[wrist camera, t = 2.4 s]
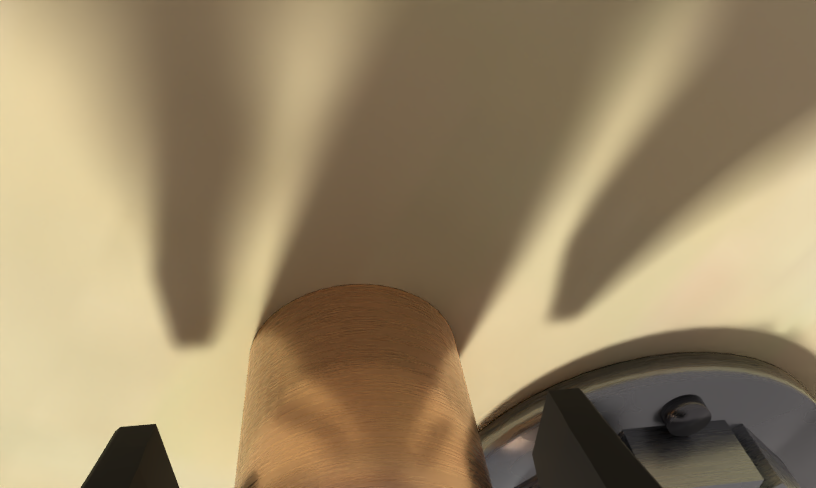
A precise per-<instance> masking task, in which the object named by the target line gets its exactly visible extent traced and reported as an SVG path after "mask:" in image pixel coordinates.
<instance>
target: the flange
mask: <svg viewBox="0 0 816 488" xmlns="http://www.w3.org/2000/svg"><path fill="white" fill-rule="evenodd" d="M571 388H579V389H580V390H582V391H583V392H584V394H585V395H586V396H587V398H588V399H589V400H590V401H591V403H592V404H593V405H594V406H595V408H596V409H597V410H598V411H599V413H600V414H601V415H602V416H603V418H604V419H605V420H606V421H607V423H608V424H609V425H610V426H611V428H612V429H613V430H614V431H615V433H616V434H617V435H618V436H619V437H620V439H621V440H622V441H623V442H624V443H625V445H626V446H627V447H628V448H629V449H630V451H631V452H632V453H633V454H634V455H635V457H636V458H637V459H638V460H639V461H640V462H641V464H642V465H643V466H644V467H645V468H646V469H647V470H648V472H649V473H650V474H651V475H652V476H653V477H654V478H655V479H656V481H657V482H658V483H659V484H660V485H661V486H662V487H663V488H816V402H815V401H814V400H813V398H812V397H811V396H810V395H809V393H808V392H807V391H806V390H805V389H804V387H803V386H802V385H801V384H800V383H799V382H798V381H796V380H795V379H794V378H793V377H792V376H791V375H790V374H788V373H786V372H785V371H783V370H781V369H779V368H777V367H776V366H774V365H771V364H768V363H765V362H762V361H760V360H757V359H754V358H748V357H743V356H738V355H733V354H722V353H708V352H701V353H676V354H668V355H660V356H652V357H646V358H641V359H636V360H632V361H627V362H622V363H617V364H614V365H611V366H607V367H604V368H601V369H597V370H594V371H591V372H587V373H585V374H582V375H580V376H577V377H575V378H572V379H569V380H567V381H564V382H562V383H559V384H557V385H555V386H553V387H551V388H549V389H547V390H545V391H542V392H540V393H538V394H536V395H534V396H532V397H530V398H529V399H527V400H525V401H524V402H522V403H520V404H519V405H517V406H515V407H514V408H512V409H510V410H508V411H507V412H505V413H504V414H503V415H501V416H500V417H499V418H497V419H496V420H494V421H493V422H492V423H490V424H489V425H488V426H486V427H485V428H484V429H483V430H482V431H480V432H479V437H480V441H481V444H482V448H483V452H484V456H485V460H486V464H487V468H488V472H489V476H490V480H491V483H492V487H493V488H540V486H539V482H538V478H537V474H536V469H535V465H534V461H533V456H532V452H533V448H534V444H535V440H536V436H537V432H538V428H539V424H540V420H541V416H542V412H543V408H544V404H545V400H546V396H547V392H548V390H559V389H571Z"/></svg>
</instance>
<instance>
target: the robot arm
mask: <svg viewBox="0 0 816 488" xmlns="http://www.w3.org/2000/svg"><path fill="white" fill-rule="evenodd" d="M532 456H533V461H534V465H535V469H536V474H537V478H538V482H539V486H540V488H663V487H662V486H661V485H660V484H659V483H658V482H657V481H656V479H655V478H654V477H653V476H652V475H651V474H650V473H649V472H648V470H647V469H646V468H645V467H644V466H643V465H642V464H641V462H640V461H639V460H638V459H637V458H636V457H635V455H634V454H633V453H632V452H631V451H630V449H629V448H628V447H627V446H626V445H625V443H624V442H623V441H622V440H621V439H620V437H619V436H618V435H617V434H616V433H615V431H614V430H613V429H612V428H611V426H610V425H609V424H608V423H607V421H606V420H605V419H604V418H603V416H602V415H601V414H600V413H599V411H598V410H597V409H596V408H595V406H594V405H593V404H592V403H591V401H590V400H589V399H588V398H587V396H586V395H585V394H584V392H583V391H582V390H580V389H579V388H571V389H559V390H548V392H547V396H546V400H545V404H544V408H543V412H542V416H541V420H540V424H539V428H538V432H537V436H536V440H535V444H534V448H533V452H532ZM81 488H179V486H178V483H177V480H176V478H175V475H174V472H173V469H172V467H171V464H170V461H169V458H168V456H167V453H166V450H165V448H164V445H163V442H162V439H161V437H160V434H159V431H158V428H157V426H156V424H150V425H139V426H127V427H120V428H119V429H118V430H116V431H115V433H114V434H113V436H112V438H111V439H110V441H109V443H108V444H107V446H106V448H105V449H104V451H103V453H102V454H101V456H100V458H99V459H98V461H97V462H96V464H95V466H94V467H93V469H92V471H91V472H90V474H89V475H88V477H87V478H86V480H85V482H84V483H83V485H82V486H81Z"/></svg>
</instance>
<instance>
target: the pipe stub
mask: <svg viewBox="0 0 816 488" xmlns="http://www.w3.org/2000/svg"><path fill="white" fill-rule="evenodd" d="M235 488H493V487H492V483H491V480H490V476H489V472H488V468H487V464H486V460H485V456H484V452H483V448H482V444H481V441H480V437H479V433H478V429H477V425H476V421H475V417H474V413H473V409H472V405H471V401H470V398H469V394H468V390H467V386H466V382H465V378H464V374H463V370H462V366H461V362H460V358H459V355H458V351H457V347H456V343H455V339H454V335H453V333H452V330H451V328H450V326H449V324H448V323H447V321H446V320H445V318H444V317H443V316H442V315H441V314H440V313H439V311H437V310H436V309H435V308H434V307H433V306H431V305H430V304H429V303H427V302H426V301H424V300H422V299H421V298H419V297H417V296H415V295H412V294H410V293H408V292H405V291H402V290H398V289H395V288H390V287H385V286H379V285H368V284H356V285H343V286H335V287H331V288H326V289H322V290H318V291H315V292H312V293H309V294H307V295H304V296H302V297H300V298H298V299H295V300H294V301H292V302H290V303H289V304H287V305H285V306H283V307H282V308H281V309H280V310H278V311H277V312H276V313H274V314H273V315H272V316H271V317H270V318H269V319H268V320H267V321H266V322H265V323H264V325H263V326H262V327H261V329H260V330H259V331H258V333H257V335H256V337H255V339H254V341H253V344H252V347H251V350H250V357H249V366H248V375H247V384H246V392H245V401H244V410H243V418H242V427H241V436H240V444H239V453H238V462H237V471H236V479H235Z"/></svg>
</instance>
